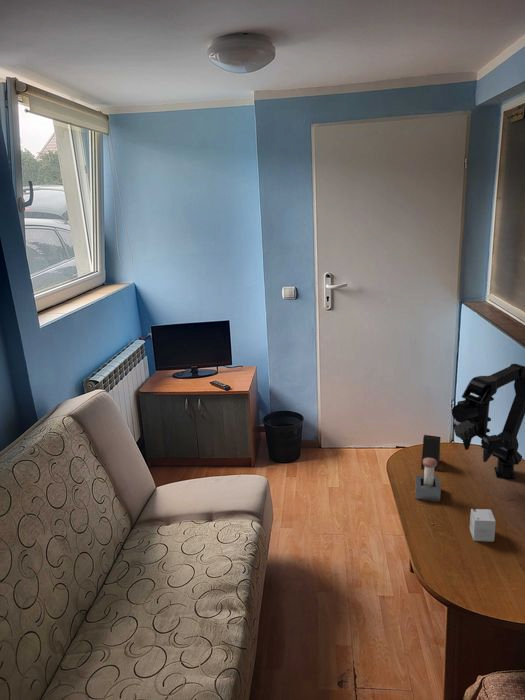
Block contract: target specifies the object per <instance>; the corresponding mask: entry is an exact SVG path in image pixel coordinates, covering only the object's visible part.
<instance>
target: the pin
mask: <svg viewBox="0 0 525 700" xmlns="http://www.w3.org/2000/svg"><path fill="white" fill-rule="evenodd" d="M423 465H424V466H425V469H423V470H424V472H423V474H424V475H423V476H424V486H430V487H433V483H434V477H435V471H434V467H436V466H437V461H436V460H435V459H433V458H424V459H423Z"/></svg>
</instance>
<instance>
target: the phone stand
mask: <svg viewBox="0 0 525 700" xmlns="http://www.w3.org/2000/svg"><path fill="white" fill-rule="evenodd" d="M422 438H423V440H422V441H423V443H422V453H421V454H422V455H421V463H420V465H421V466H420V469H423V470H425V466H424V465H423V459H424V458H433V459H435V460H436V461H437V466H436V467H434V472H438V470H439V467H440V466H439V465H440V460H441V440H442V439H441V436H436V435H428V434H424V435H423V437H422Z"/></svg>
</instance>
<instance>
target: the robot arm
mask: <svg viewBox="0 0 525 700" xmlns="http://www.w3.org/2000/svg"><path fill="white" fill-rule="evenodd" d="M512 382H514V384H513V388H514V393H515V395H514V398H513V401H512V404H511V407H510V409H509V412H508V414H507V417H506V420H505V423H504V426H503V428H502V431H501V432H499V433H498V434H493V435H492V434H491V435H488V434H489V433H490V432H491V429H490V428H489V427H488V425H489V423H488V422H491V421H492V418H491V417H489V414H490V413H489V412H490V402H492V401H494V400H495V398H494V397H493V396H494V395H496V394H497V391H498V389H499V388H501V387H504V386H505V385H508V384H510V383H512ZM461 398H462V399H463V400H460V401H457V404H456V405H454V406H453V407H452V409H451V416H452V418H453V419H454V422H453V424H452V425H453V426H452V428H453V431H454V434H455V437H457V438H459V439H460V440H462V443H463V447H464V450H466V451H467V450H469V449H470V446H471V443H472V439H473V438H474V437H478V438H479V439H481V440H480V444H481V445H480V447H481V448H482V449H483V452H482V460H483V463H487V462H488V460H490V458H491V456H492V457H495V458H497V461H496V466H494V473H495V476H496V478H503V479H511V480H515V479H517V477H516V474H515V465H517V466H519V464H520V463H521V462H522V459H523V456H522V454H520V452H519V445H520V444H519V441H518V433H519V431H520V428H521V426H522V423H523V420H524V418H525V366H524V365H522V364H518V363H511V364H510V365H509V366H507V367H506V368H504V369H501V370H499V371H496V372H495V373H492V374H490V375H478V376H475V377H473V378H471V380H470V381H469V382H468V385H467V386H466V387H465V390H464V392H463V393H462V395H461Z"/></svg>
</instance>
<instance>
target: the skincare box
mask: <svg viewBox="0 0 525 700" xmlns="http://www.w3.org/2000/svg"><path fill="white" fill-rule="evenodd" d="M496 523H497V522H496V519H495V516H494V513H493V511H492V510H491V509H487V508H486V509H483V508H482V509H481V508H479V509H478V508H471V509H470V519H469V530H470V531H469V532H470V535H471V537H472V541H475V542H495V533H496V526H497V525H496Z"/></svg>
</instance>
